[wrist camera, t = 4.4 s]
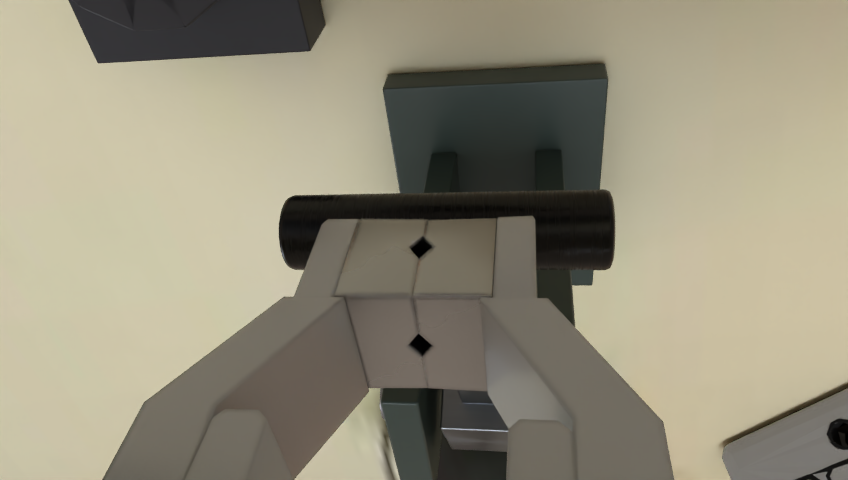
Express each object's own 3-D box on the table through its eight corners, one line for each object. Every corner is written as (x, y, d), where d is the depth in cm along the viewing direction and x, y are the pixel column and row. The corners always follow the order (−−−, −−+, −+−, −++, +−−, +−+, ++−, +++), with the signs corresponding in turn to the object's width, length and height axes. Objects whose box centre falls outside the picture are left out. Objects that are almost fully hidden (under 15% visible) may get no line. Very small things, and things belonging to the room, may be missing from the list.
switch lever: (291, 150, 10) (263, 284, 9) (609, 140, 10) (621, 286, 8) (412, 370, 21) (406, 447, 20) (570, 375, 20) (572, 454, 19)
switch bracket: (387, 74, 24) (296, 327, 15) (605, 63, 23) (661, 333, 13) (418, 267, 31) (369, 532, 21) (590, 267, 29) (620, 549, 20)
